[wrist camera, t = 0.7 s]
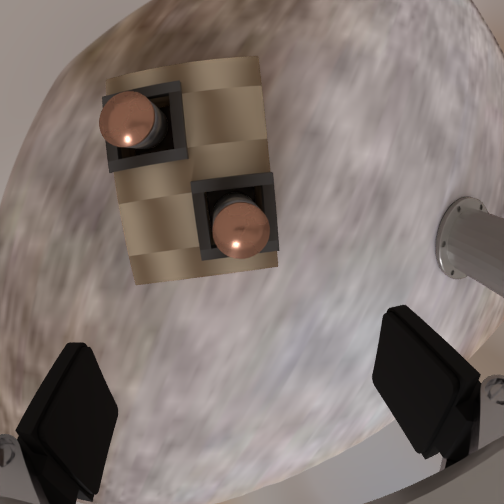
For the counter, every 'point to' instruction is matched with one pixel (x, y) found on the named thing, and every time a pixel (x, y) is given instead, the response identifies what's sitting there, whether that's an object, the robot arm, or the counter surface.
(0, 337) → the counter surface
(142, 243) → the maple block
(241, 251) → the peg
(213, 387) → the counter surface
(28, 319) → the counter surface
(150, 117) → the peg
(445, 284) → the counter surface
